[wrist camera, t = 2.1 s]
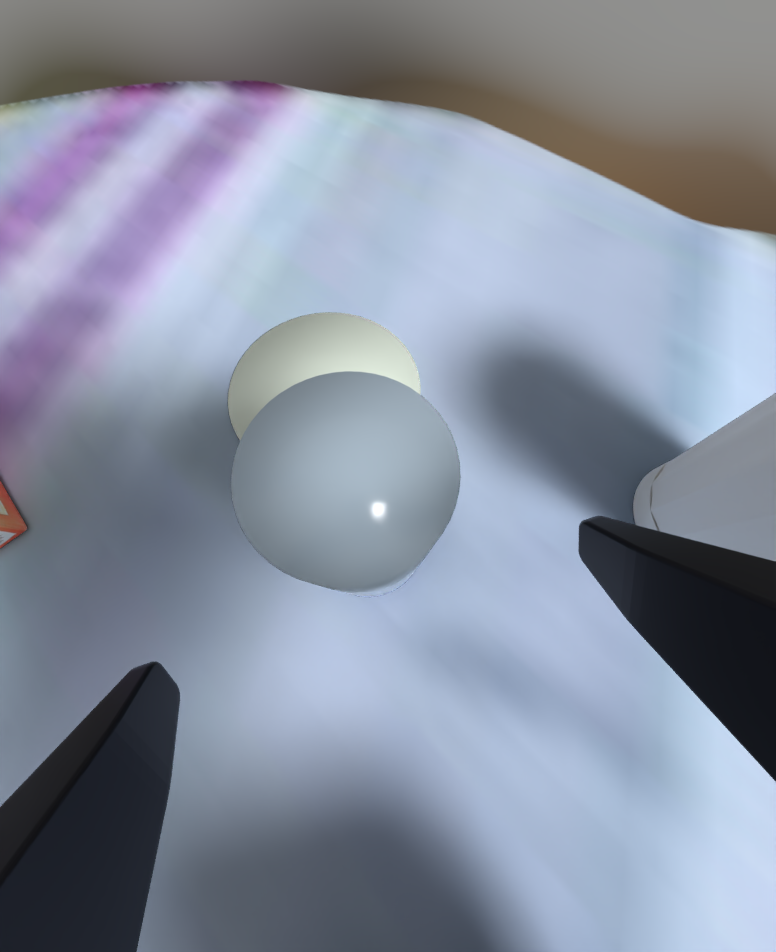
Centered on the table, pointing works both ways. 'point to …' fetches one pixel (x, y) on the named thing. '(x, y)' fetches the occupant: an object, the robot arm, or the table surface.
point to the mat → (314, 359)
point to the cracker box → (9, 519)
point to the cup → (719, 487)
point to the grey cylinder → (346, 481)
